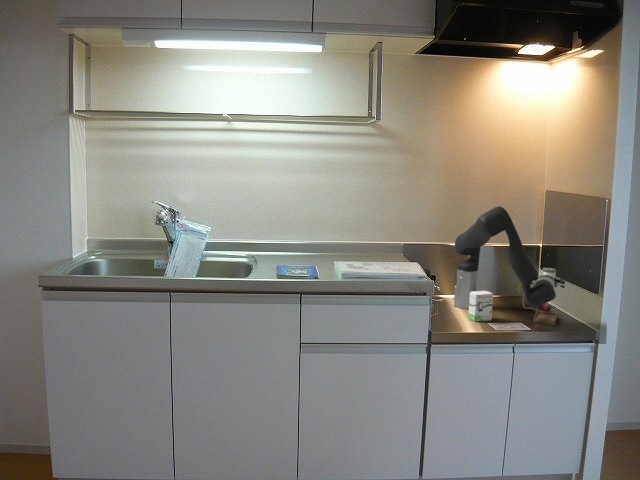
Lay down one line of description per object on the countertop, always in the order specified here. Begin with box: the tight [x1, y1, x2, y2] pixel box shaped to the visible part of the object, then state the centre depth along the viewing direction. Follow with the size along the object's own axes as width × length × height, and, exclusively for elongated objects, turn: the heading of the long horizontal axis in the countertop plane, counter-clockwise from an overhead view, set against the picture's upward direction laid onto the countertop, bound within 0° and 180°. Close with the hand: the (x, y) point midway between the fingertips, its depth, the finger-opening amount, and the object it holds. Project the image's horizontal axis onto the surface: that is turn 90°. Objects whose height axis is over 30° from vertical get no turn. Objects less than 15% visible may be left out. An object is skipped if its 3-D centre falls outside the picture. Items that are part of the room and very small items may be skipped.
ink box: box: [468, 290, 494, 322], centre depth 227 cm, size 9×5×12 cm, turn 108°
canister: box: [541, 267, 557, 278], centre depth 225 cm, size 5×5×11 cm
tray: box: [532, 309, 559, 326], centre depth 228 cm, size 8×12×2 cm
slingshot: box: [517, 281, 552, 312], centre depth 246 cm, size 17×10×15 cm
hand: (549, 278), depth 227 cm, fingers closed on canister, 5 cm apart
